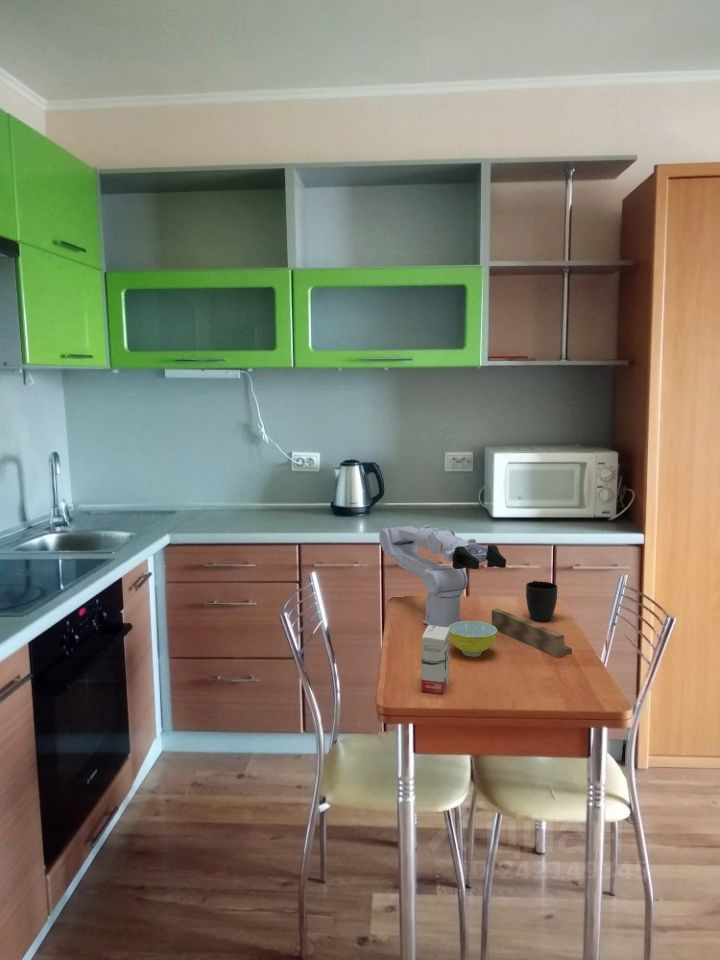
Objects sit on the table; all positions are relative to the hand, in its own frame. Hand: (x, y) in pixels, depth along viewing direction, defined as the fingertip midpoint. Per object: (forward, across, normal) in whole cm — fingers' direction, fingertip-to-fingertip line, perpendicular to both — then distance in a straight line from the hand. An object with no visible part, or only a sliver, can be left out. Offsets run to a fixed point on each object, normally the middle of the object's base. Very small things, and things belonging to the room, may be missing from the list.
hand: (491, 564), depth 164 cm
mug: (-14, +29, +20) cm, 38 cm away
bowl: (+1, -3, +22) cm, 22 cm away
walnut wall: (0, +15, +20) cm, 25 cm away
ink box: (+13, -21, +22) cm, 33 cm away
